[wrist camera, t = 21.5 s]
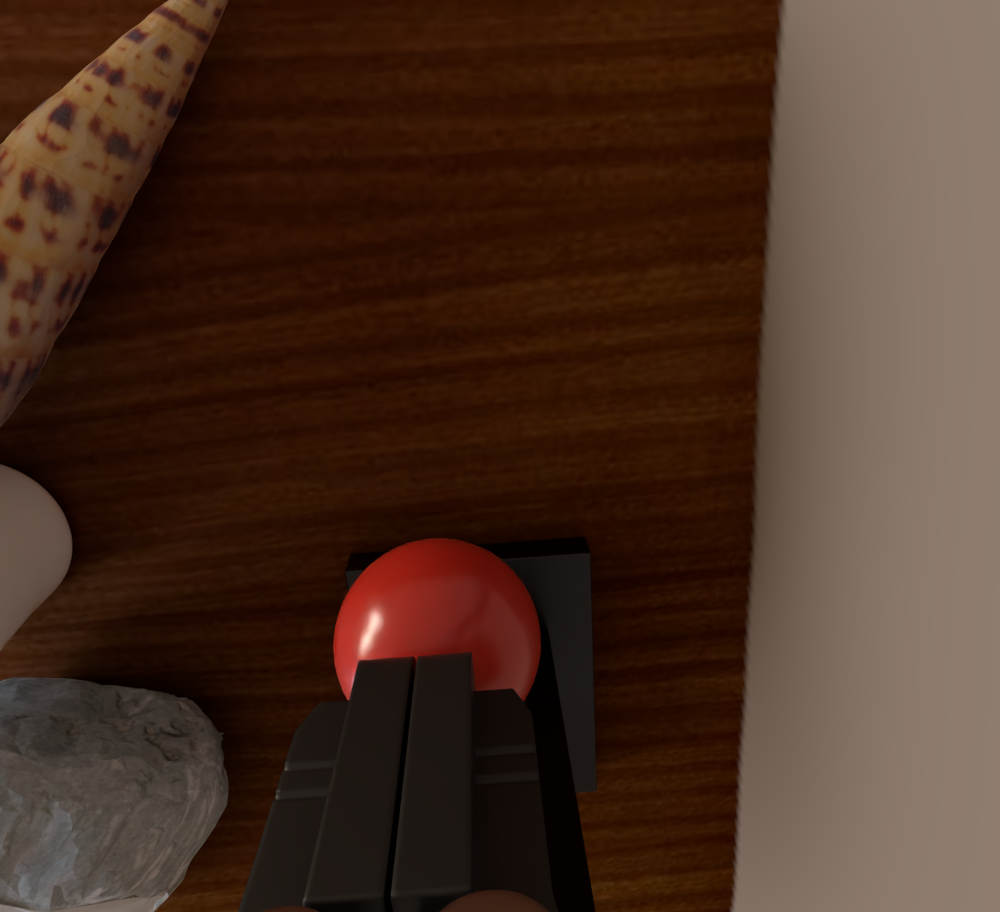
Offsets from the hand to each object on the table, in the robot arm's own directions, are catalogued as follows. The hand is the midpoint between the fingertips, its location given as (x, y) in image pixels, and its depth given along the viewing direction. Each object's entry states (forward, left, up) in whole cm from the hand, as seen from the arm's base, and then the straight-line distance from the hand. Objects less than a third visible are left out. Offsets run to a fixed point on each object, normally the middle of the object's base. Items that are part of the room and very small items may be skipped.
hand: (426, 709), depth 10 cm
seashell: (+9, -8, -15) cm, 19 cm away
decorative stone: (+19, +10, -15) cm, 25 cm away
